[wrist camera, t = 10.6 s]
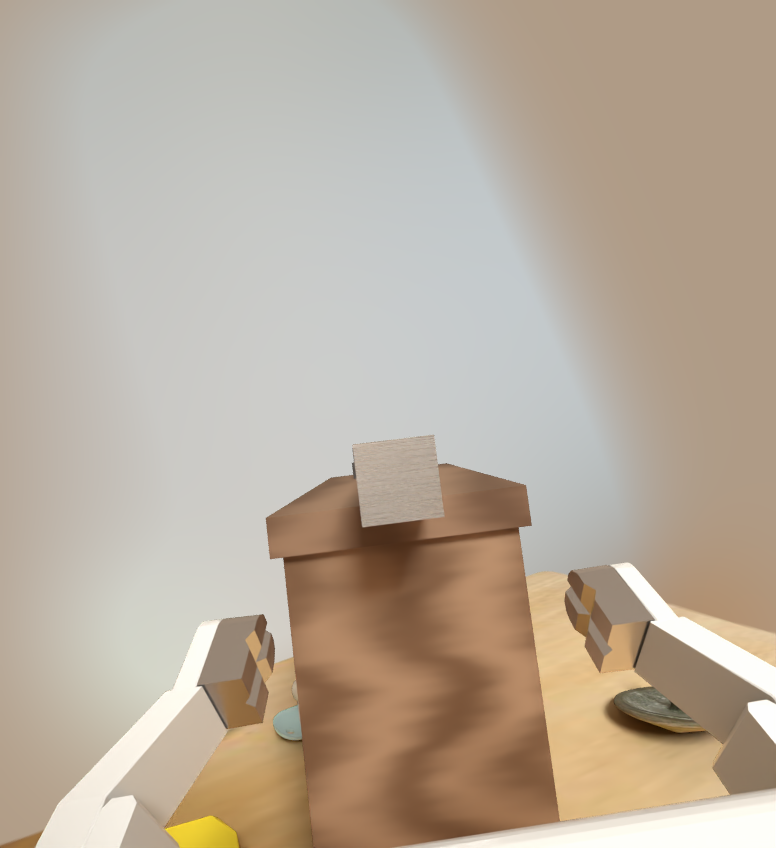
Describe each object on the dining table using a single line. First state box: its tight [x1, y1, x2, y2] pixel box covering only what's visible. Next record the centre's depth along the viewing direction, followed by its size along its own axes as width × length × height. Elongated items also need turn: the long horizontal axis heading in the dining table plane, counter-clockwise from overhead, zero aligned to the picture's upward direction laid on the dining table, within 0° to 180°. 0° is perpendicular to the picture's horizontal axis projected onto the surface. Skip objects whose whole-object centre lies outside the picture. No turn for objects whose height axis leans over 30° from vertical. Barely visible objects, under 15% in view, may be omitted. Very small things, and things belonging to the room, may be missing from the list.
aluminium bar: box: [353, 435, 445, 527], centre depth 26 cm, size 3×25×3 cm, turn 1°
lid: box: [614, 686, 706, 733], centre depth 34 cm, size 11×10×5 cm
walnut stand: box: [266, 453, 560, 848], centre depth 29 cm, size 13×23×29 cm, turn 1°
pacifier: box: [273, 680, 302, 740], centre depth 40 cm, size 7×6×6 cm
